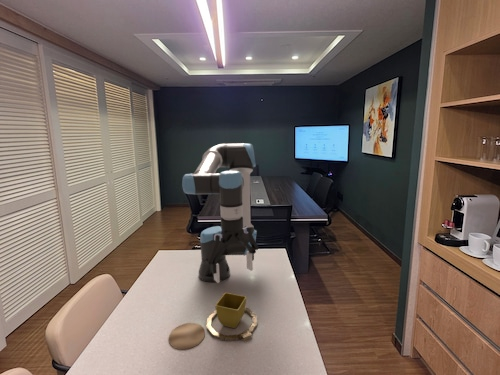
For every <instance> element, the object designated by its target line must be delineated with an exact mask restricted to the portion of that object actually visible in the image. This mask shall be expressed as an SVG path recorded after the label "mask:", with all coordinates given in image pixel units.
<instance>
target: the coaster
mask: <svg viewBox="0 0 500 375" xmlns="http://www.w3.org/2000/svg"><path fill="white" fill-rule="evenodd" d="M205 336H206V331H205V328H204V326H202V325H201V324H199V323H195V322H187V323H183V324H180V325H178V326H176V327H175V328H173V329H172V330H171V331H170V332H169V336H168V341H169V342H168V343H169V344H170V346H171V347H173V348H175V349H177V350H188V349H193V348H195V347H197V346H198V345H200V344H201V343H202V342H203V340H204V338H205Z"/></svg>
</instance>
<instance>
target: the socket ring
mask: <svg viewBox="0 0 500 375" xmlns="http://www.w3.org/2000/svg"><path fill="white" fill-rule="evenodd" d="M244 313H246V314H247V315H248V316H250V318H251V320H252V324H251V325H250V326H249V328H248V329H246V330H244V331H242V332H240V333H238V334H229V335H227V334H224V333H221V332H217V331H216V330H215V329H214V328H213V326H212V323H213V322H212V321H213V320H214V319H215V318H216V317H217V312H216V306H215V305H214V310H213V312H211V314H210V315H209V316H208V317H207V318H206V319H207V320H206V331H208V333H209V334H210V335H211V337H213V338H215V339H217V340H220V341H223V342H233V341H234V342H235V341H241V340H242V341H243V342H244V343H245V342H247V341H249V340H251V339H252V338H253V336H252V334H253V332H254V331H255V330H256V329H257V326H258V320H257V314H256V313H255V312H254V311H253V310H251V309H250V307H246V306H245V311H244Z"/></svg>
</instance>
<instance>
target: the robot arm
mask: <svg viewBox="0 0 500 375" xmlns="http://www.w3.org/2000/svg"><path fill="white" fill-rule="evenodd" d="M201 158H202V159H201V162H200V163H199V164H198V166H197V168H196V170H195V171H194V172H193V173H185V174H184V175H183V176H182V181H181V182H182V183H181V187H182V190H183V193H184V194H187V195H219V203H220V204H219V206H220V209H219V210H220V213H219V214H220V217H221V218H220V226H219V225H216V226H211V227H207V228H206V229H204V230H202V231H201V233H200V236H199V237H200V240H199V242H200V254H201V256H200V257H201V262H200V265H199V269H198V278H199V279H200V280H201V281H203V282H206V283H217V284H219V283H220V282H221V281H224V280H226V279H227V278H229V277H230V276H231V270H230V269H231V268H230V266H229V264H228V262H227V258H226V257H227V256H243V257H244V256H246V269H247V270H249V271H250V272H251V271H253V268H254V267H253V266H254V265H253V264H254V262H253V261H254V260H255V254H256V253H257V251H258V250H259V245H258V243H257V242H256V240H257V232H258V231H257V229H255V228H254V225H253V224H252V223H251V173H252V172H253V171H254V168H255V167H256V166H257V164H256V159H255V151H254V145H253V144H252V143H244V142H242V143H241V142H240V143H239V142H238V143H219V144H217V145H214V146H211V147H209V148H208V149H207V150H206V151H205V152H204V153H203V154H202V157H201ZM220 168H229V170H224V171H220V173H219V172H218V173H216V172H217V170H218V169H220Z"/></svg>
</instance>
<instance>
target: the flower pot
mask: <svg viewBox="0 0 500 375" xmlns="http://www.w3.org/2000/svg"><path fill="white" fill-rule="evenodd" d="M246 304H247V296H245V295H241V294H236V293H235V294H234V293H231V292H224V293H223V295H222V296H221V297H220V298H219V299H218V301H217V302H216V304H215V305H214V307H215V306H216V312H217V315H216V317H217V319H218V321H219V323H220V324H221V325H222V326H224V327H228V328H232V329H236V328H237V327H238V325H239V323H240V322H241V320H242V318H243V316H244V313H245V312H244V311H245V307H246V306H247V305H246Z"/></svg>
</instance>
